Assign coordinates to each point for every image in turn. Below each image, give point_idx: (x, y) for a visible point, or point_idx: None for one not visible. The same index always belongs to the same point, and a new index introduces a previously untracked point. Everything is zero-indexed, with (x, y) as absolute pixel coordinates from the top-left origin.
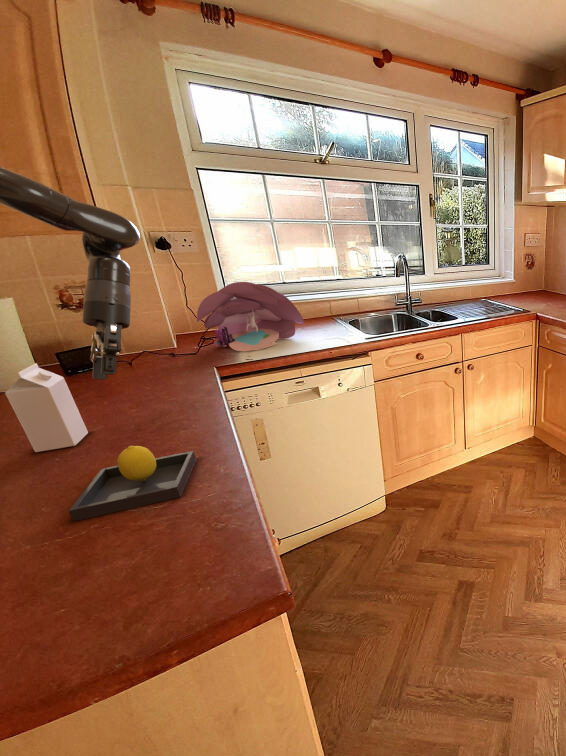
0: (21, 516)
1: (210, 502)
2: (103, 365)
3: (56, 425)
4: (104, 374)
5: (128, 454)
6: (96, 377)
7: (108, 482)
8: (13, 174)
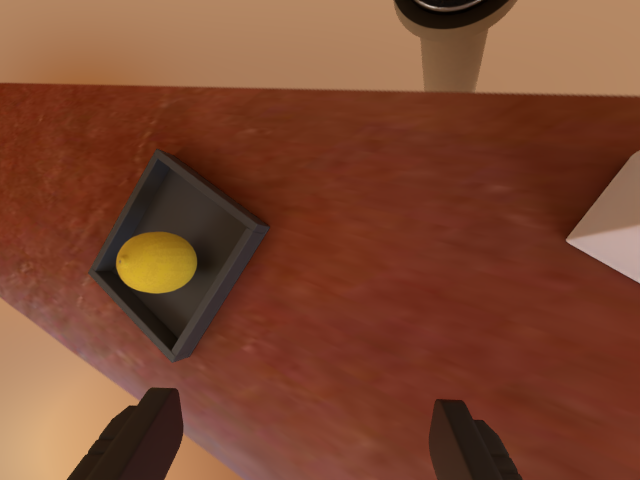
0: (257, 103)
1: (66, 288)
2: (120, 435)
3: (620, 209)
4: (441, 471)
5: (120, 249)
6: (439, 415)
7: (240, 222)
8: None
